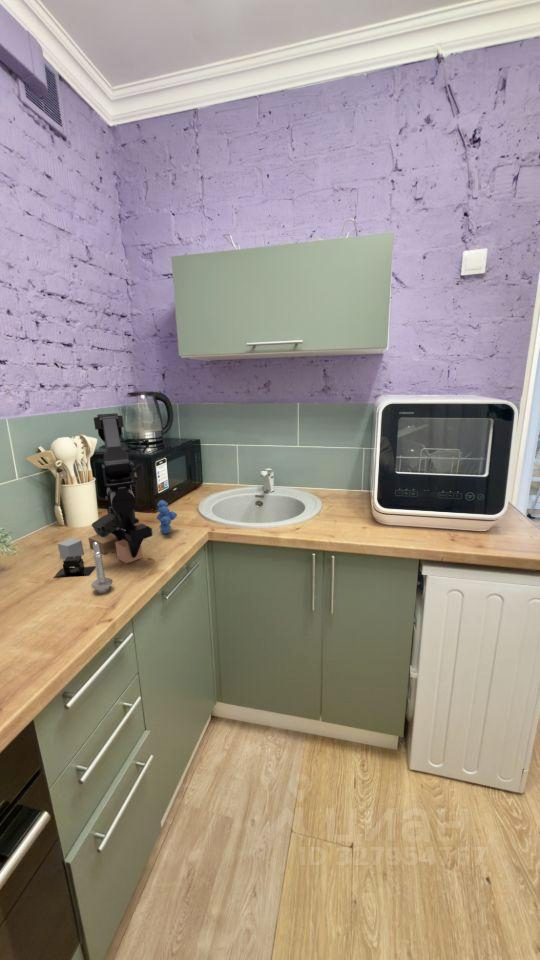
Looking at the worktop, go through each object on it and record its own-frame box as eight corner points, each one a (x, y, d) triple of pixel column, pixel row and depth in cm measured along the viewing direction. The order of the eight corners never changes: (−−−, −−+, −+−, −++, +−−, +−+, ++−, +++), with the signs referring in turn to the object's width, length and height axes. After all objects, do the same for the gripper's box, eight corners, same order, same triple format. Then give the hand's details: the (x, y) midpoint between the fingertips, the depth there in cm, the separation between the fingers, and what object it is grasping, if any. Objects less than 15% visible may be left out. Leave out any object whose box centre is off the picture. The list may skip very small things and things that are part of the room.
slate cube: (74, 551, 120) (71, 537, 119) (83, 554, 118) (81, 540, 117) (60, 557, 117) (57, 543, 116) (70, 560, 115) (67, 546, 113)
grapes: (181, 537, 128) (178, 502, 124) (160, 541, 125) (155, 505, 122) (176, 525, 138) (173, 492, 135) (156, 528, 136) (152, 495, 133)
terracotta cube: (133, 552, 117) (131, 536, 116) (142, 557, 114) (140, 541, 112) (117, 558, 114) (115, 542, 112) (126, 563, 110) (123, 547, 109)
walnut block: (114, 540, 128) (112, 529, 127) (128, 546, 123) (126, 534, 122) (90, 549, 122) (88, 537, 121) (104, 556, 117) (102, 543, 116)
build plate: (102, 566, 111) (100, 551, 110) (93, 579, 104) (91, 563, 103) (57, 569, 111) (54, 554, 109) (44, 582, 104) (41, 566, 102)
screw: (112, 594, 96) (90, 597, 95) (114, 584, 100) (94, 587, 99) (104, 544, 92) (82, 547, 91) (107, 536, 97) (86, 538, 96)
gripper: (78, 503, 110) (87, 555, 114) (109, 518, 98) (118, 575, 102) (117, 494, 118) (123, 542, 122) (150, 506, 105) (156, 560, 109)
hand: (129, 554), depth 113 cm, fingers closed on terracotta cube, 5 cm apart
